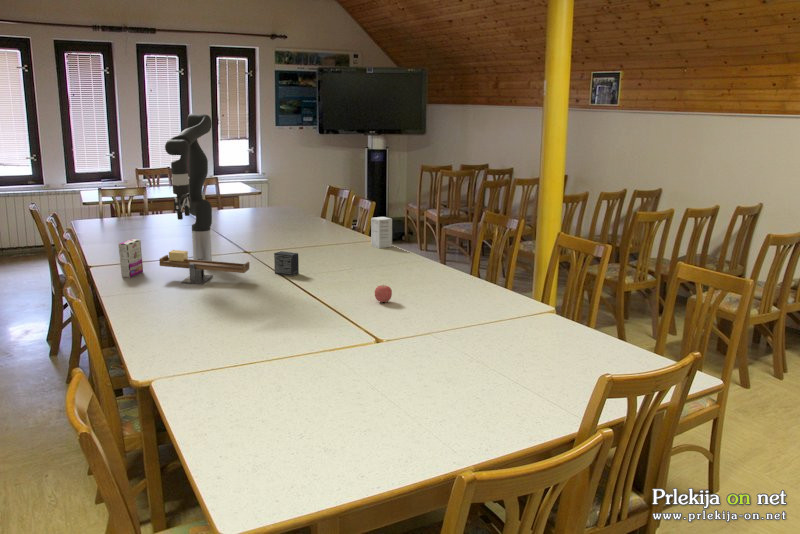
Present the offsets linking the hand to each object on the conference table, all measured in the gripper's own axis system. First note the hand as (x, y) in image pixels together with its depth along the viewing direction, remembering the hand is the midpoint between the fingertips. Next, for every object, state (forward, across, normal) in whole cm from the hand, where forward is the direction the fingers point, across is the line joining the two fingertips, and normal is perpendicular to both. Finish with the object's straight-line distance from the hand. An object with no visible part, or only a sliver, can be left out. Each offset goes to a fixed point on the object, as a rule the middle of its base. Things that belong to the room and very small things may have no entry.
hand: (183, 217), depth 320 cm
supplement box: (+33, -83, +84) cm, 122 cm away
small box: (+30, -11, +45) cm, 55 cm away
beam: (+22, +8, +11) cm, 26 cm away
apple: (+30, +30, +97) cm, 106 cm away
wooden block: (+17, +8, -5) cm, 19 cm away
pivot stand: (+28, +8, +7) cm, 30 cm away
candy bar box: (+28, +3, -27) cm, 39 cm away
